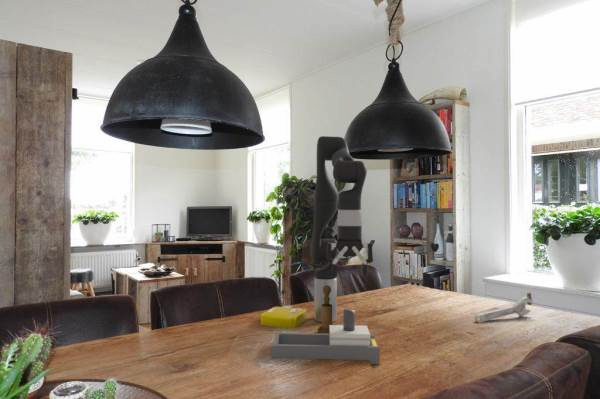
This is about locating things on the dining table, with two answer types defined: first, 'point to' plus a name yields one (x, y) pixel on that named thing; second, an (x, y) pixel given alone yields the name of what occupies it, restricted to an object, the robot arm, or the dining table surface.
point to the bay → (321, 348)
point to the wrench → (506, 311)
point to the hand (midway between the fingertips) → (349, 276)
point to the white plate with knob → (349, 332)
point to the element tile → (283, 317)
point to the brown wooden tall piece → (326, 312)
